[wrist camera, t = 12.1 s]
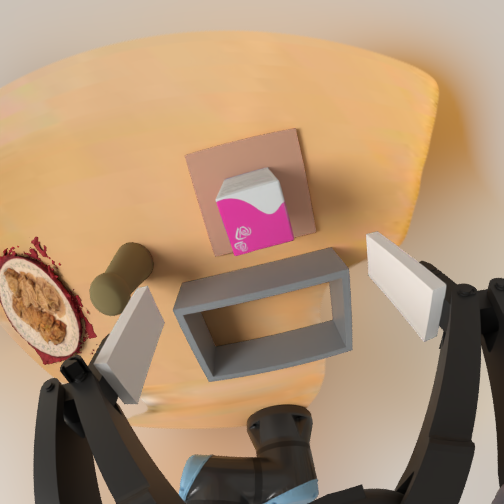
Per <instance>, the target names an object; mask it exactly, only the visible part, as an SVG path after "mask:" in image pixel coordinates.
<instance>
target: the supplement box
mask: <svg viewBox="0 0 504 504" xmlns="http://www.w3.org/2000/svg"><path fill="white" fill-rule="evenodd" d="M216 203H217V206H218V209H219V212H220V215H221V218H222V221H223V224H224V227H225V229H226V232H227V235H228V238H229V241H230V244H231V247H232V250H233V252H234V255H235V256H238V255H242V254H245V253H249V252H252V251H255V250H259V249H263V248H266V247H270V246H274V245H278V244H282V243H285V242H289V241H293V240H294V235H293V231H292V226H291V222H290V218H289V214H288V211H287V207H286V203H285V200H284V196H283V193H282V189H281V185H280V182H279V180H278V179H277V178H276V177H275V175H274V174H273V173H272V172H271V171H270V170H269V168H268V167H266V168H262V169H258V170H254V171H251V172H247V173H244V174H240V175H237V176H234V177H230V178H227V179H225V180H224V182H223V184H222V186H221V189H220V191H219V193H218V195H217V198H216Z"/></svg>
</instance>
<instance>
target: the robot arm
mask: <svg viewBox="0 0 504 504" xmlns="http://www.w3.org/2000/svg"><path fill="white" fill-rule="evenodd" d="M366 240H367V256H368V275H369V277H370V278H371V279H372V280H373V281H374V282H375V283H376V285H377V286H378V287H379V288H380V289H381V290H382V292H383V293H384V294H385V295H386V296H387V297H388V298H389V299H390V301H391V302H392V303H393V304H394V306H395V307H396V308H397V309H398V310H399V311H400V313H401V314H402V315H403V316H404V318H405V319H406V320H407V321H408V323H409V324H410V325H411V326H412V328H413V329H414V330H415V331H416V333H417V334H418V335H419V336H420V338H421V339H422V340H423V341H424V342H425V341H427V340H430V339H432V338H434V337H436V336H437V333H438V328H439V326H440V327H441V328H442V329H443V331H444V332H443V336H442V340H441V344H440V347H439V349H441V350H440V355H439V361H438V366H437V372H436V376H435V381H434V385H433V389H432V394H431V397H430V401H429V405H428V409H427V412H426V415H425V419H424V422H423V426H422V428H421V432H420V435H419V437H418V440H417V443H416V446H415V448H414V451H413V454H412V456H411V458H410V461H409V463H408V466H407V468H406V470H405V472H404V473H403V475H402V477H401V479H400V481H399V483H398V485H397V487H396V489H395V491H392V490H387V489H363V486H362V485H359V486H356V487H352V488H349V489H346V490H343V491H339V492H335V493H331V494H327V495H325V496H323V497H321V498H319V499H317V500H315V499H316V498H317V496H318V494H319V492H318V484H317V482H318V480H317V477H316V473H315V467H314V463H313V458H312V454H311V450H310V444H309V442H310V436H311V431H312V424H313V423H312V417H311V413H310V412H309V411H308V410H307V409H305V408H303V407H300V406H296V405H278V406H272V407H268V408H265V409H262V410H260V411H258V412H256V413H254V414H253V415H251V416H250V417H249V419H248V420H247V432H248V434H249V437H250V439H251V441H252V443H253V445H254V447H255V449H256V454H257V457H254V458H253V457H227V456H215V455H192V456H191V457H189V459H188V460H187V462H186V464H185V467H184V470H183V473H182V477H181V482H180V490H179V494H178V493H177V492H176V491H175V489H174V488H173V487H172V486H171V485H170V483H169V482H168V481H167V479H166V478H165V477H164V475H163V474H162V473H161V471H160V470H159V469H158V467H157V466H156V465H155V463H154V462H153V460H152V459H151V457H150V456H149V454H148V453H147V451H146V450H145V448H144V447H143V445H142V444H141V442H140V441H139V439H138V437H137V436H136V434H135V432H134V431H133V429H132V427H131V426H130V424H129V422H128V420H127V419H126V417H125V415H124V413H123V411H122V410H121V408H120V406H119V405H118V404H117V403H116V401H117V399H118V397H119V398H120V399H121V400H122V401H123V403H124V404H138V401H139V398H140V395H141V392H142V388H143V385H144V382H145V379H146V376H147V373H148V370H149V367H150V364H151V361H152V358H153V355H154V352H155V349H156V346H157V343H158V340H159V337H160V334H161V331H162V329H163V326H164V323H165V322H164V320H163V318H162V316H161V314H160V312H159V310H158V307H157V305H156V303H155V301H154V299H153V297H152V294H151V292H150V290H149V288H148V286H145V287H140V288H137V289H136V291H135V292H134V294H133V296H132V297H131V299H130V301H129V302H128V304H127V306H126V307H125V309H124V311H123V312H122V314H121V316H120V317H119V319H118V321H117V322H116V324H115V326H114V328H113V329H112V331H111V333H110V334H108V335H107V336H106V337H105V338H104V339H103V340H102V342H101V344H100V345H99V348H98V349H97V351H96V353H95V354H94V356H93V358H92V360H91V362H90V364H89V365H88V366H87V365H86V363H85V362H84V360H83V359H82V358H81V356H79V355H74V356H71V357H69V358H68V359H66V360H65V361H64V362H63V364H62V365H61V367H60V372H61V373H62V374H63V375H64V377H65V378H66V379H67V381H68V382H69V383H67V384H63V385H62V384H61V383H60V382H59V380H58V379H57V378H52V379H49V380H47V381H46V382H45V383H44V384H43V386H42V387H41V390H40V396H39V403H38V410H37V419H36V428H35V440H34V495H35V504H102V501H101V497H100V493H99V488H98V483H97V478H96V472H95V466H94V459H93V456H94V458H95V461H96V463H97V465H98V467H99V469H100V472H101V473H102V476H103V478H104V480H105V482H106V484H107V486H108V488H109V490H110V492H111V494H112V496H113V498H114V499H115V502H116V504H458V503H459V501H460V498H461V495H462V493H463V490H464V487H465V484H466V481H467V477H468V474H469V471H470V467H471V463H472V460H473V456H474V450H475V444H474V443H473V442H472V440H471V438H472V432H473V427H474V421H475V416H476V409H477V401H478V393H479V383H480V367H481V346H482V350H483V354H484V358H485V362H486V366H487V370H488V375H489V380H490V386H491V391H492V397H493V404H494V411H495V420H496V431H497V450H498V476H499V486H500V489H499V490H498V492H497V494H496V496H495V499H494V500H493V501H492V504H504V279H502V278H494V279H492V280H490V283H489V286H488V289H486V290H480V291H477V289H476V288H475V287H473V286H471V285H469V284H458V285H457V284H456V283H454V282H453V281H452V280H451V279H450V278H448V277H447V276H446V275H445V274H443V273H442V272H441V271H439V270H437V268H436V267H434V266H433V265H432V264H430V263H427V262H424V261H421V262H418V261H416V260H415V259H414V258H413V257H411V256H410V255H409V254H407V253H406V252H405V251H403V250H402V249H401V248H399V247H398V246H397V245H395V244H394V243H393V242H391V241H390V240H389V239H387V238H386V237H384V236H383V235H382V234H380V233H379V232H373V233H369V234H366ZM313 500H314V501H313Z"/></svg>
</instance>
